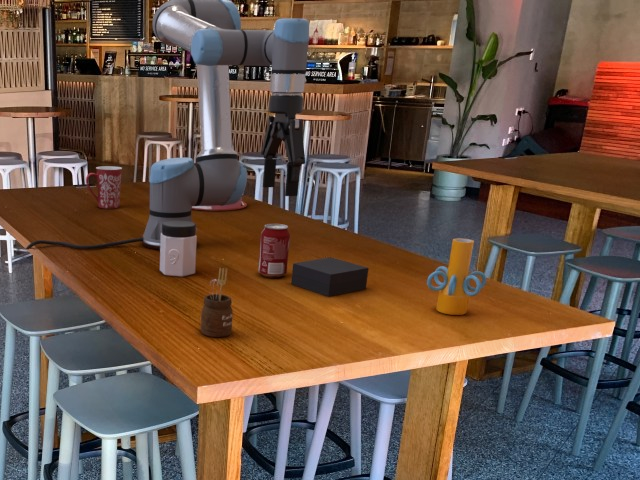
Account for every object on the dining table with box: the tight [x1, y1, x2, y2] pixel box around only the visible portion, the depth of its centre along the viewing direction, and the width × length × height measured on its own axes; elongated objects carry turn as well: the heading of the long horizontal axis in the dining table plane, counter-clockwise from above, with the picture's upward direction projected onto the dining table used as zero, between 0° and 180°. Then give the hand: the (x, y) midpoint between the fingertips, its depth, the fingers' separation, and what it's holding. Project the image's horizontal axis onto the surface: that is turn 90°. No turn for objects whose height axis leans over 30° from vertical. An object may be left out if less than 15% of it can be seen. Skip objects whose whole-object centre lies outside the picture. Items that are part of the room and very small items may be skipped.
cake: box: [192, 196, 248, 212], centre depth 282 cm, size 25×25×11 cm
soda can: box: [258, 223, 291, 279], centre depth 190 cm, size 7×7×12 cm
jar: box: [159, 220, 198, 278], centre depth 192 cm, size 9×8×12 cm
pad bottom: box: [290, 273, 368, 297], centre depth 183 cm, size 12×12×2 cm
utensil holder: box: [200, 267, 234, 338], centre depth 149 cm, size 6×6×12 cm
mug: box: [85, 165, 123, 210], centre depth 275 cm, size 13×9×14 cm
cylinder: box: [426, 237, 487, 316], centre depth 163 cm, size 12×10×15 cm
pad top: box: [291, 256, 369, 285], centre depth 182 cm, size 12×12×2 cm
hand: (279, 191), depth 185 cm, fingers open, 13 cm apart
